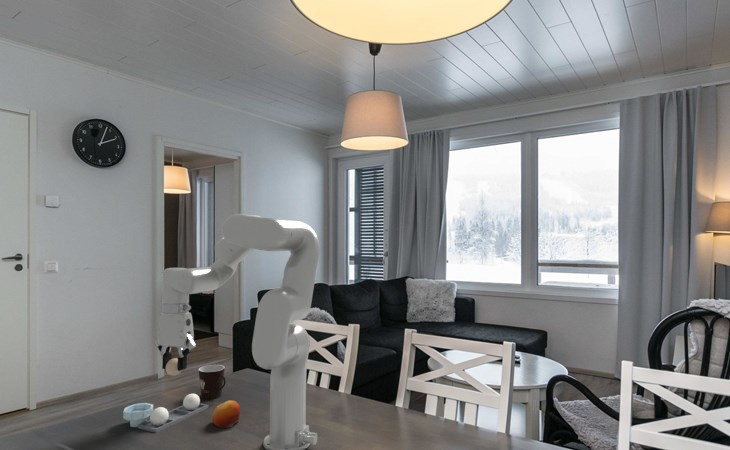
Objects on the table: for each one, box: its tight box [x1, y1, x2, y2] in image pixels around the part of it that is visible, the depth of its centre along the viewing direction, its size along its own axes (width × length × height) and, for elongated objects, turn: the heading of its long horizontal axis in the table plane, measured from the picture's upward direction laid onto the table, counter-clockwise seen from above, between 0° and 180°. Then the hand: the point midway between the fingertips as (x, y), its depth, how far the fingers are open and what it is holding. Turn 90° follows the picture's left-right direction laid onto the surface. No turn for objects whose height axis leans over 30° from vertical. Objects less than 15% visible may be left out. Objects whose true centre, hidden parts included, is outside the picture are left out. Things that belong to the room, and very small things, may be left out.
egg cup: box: [122, 402, 154, 428], centre depth 132 cm, size 8×8×5 cm
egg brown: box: [165, 357, 183, 377], centre depth 138 cm, size 5×5×5 cm
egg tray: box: [137, 402, 209, 434], centre depth 137 cm, size 7×20×1 cm, turn 157°
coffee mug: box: [198, 364, 226, 400], centre depth 155 cm, size 12×9×10 cm
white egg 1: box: [149, 406, 169, 426], centre depth 132 cm, size 5×5×5 cm
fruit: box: [211, 400, 241, 429], centre depth 133 cm, size 8×8×8 cm
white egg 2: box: [182, 393, 201, 410], centre depth 144 cm, size 5×5×5 cm
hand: (174, 368), depth 138 cm, fingers closed on egg brown, 4 cm apart
